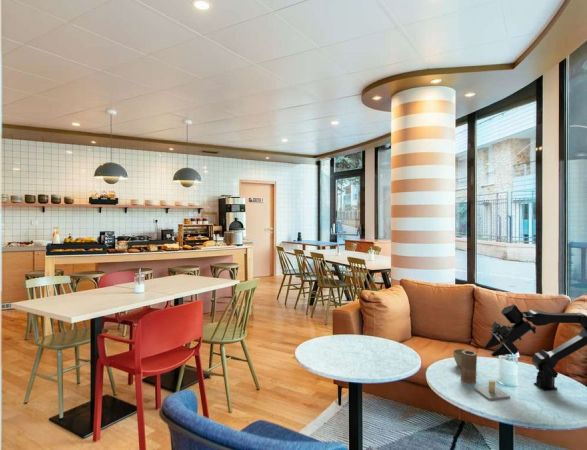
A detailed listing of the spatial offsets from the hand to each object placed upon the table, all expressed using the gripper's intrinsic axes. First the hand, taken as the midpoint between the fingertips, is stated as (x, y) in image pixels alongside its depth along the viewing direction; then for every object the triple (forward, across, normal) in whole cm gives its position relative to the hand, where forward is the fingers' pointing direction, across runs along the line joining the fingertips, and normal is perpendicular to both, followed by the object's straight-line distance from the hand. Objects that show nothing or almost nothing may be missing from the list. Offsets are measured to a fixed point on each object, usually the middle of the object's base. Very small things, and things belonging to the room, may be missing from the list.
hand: (488, 351), depth 177 cm
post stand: (+11, +11, +10) cm, 18 cm away
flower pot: (+14, -16, +7) cm, 23 cm away
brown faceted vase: (+16, -1, +6) cm, 16 cm away
